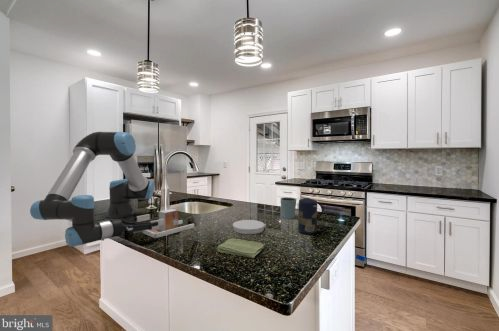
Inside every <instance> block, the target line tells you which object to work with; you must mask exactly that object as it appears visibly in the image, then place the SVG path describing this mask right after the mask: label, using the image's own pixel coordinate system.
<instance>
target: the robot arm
mask: <svg viewBox="0 0 499 331" xmlns="http://www.w3.org/2000/svg"><path fill="white" fill-rule="evenodd" d="M136 149H137V145H136V140H135V138H134V136H133V135H132V134H131V133H129V132H123V131H96V132H92V133H89V134H87V135H86V136H84V137H83V138H82V139H81V140H79V141H78V142H77V143H76V145H75V146H74V148H73V150H72V155H71V157H70V158H69V161H68V162H67V164H66V165H65V166H64V168H63V170H62V171H61V173H60V175H59V176H58V177H57V179H56V181H55V182H54V184H53V185H52V187H51V188H50V190H49V191H48V193H47V195H46V196H45V197H44V199H41V200H36V201H34V202H33V203H32V204H31V205H30V209H29V213H30V216H31V217H32V219H35V220H41V221H42V220H43V221H49V220H61V221H62V220H68V221H69V220H71V222H72V223H71V226H70V227H67V228H66V229H65V232H64V238H65V243H66V245H67V246H68V247H71V248H72V247H76V246H83V245H86V244H90V243H95V242H98V241H104V240H107V239H110V238H116V237H120V236H122V234H123V231H125V232H127V233H132V232H139V231H140V232H141V231H143V230H151V229H152V227H156V226H160V225H164V219H160V220H159V219H157V220H156V219H155V220H151V214H149V213H148V214H143V215H136V214H134V209H133V207H132V206H133V205H132V203H131V200H150V199H152V198H153V196H154V192H155V183H154V181H152V180H149V179H148V178H147V176H144V175H143V173H142V171H141V169H140V167H139V165H138V163H137V160H136V159H135V156H134V154H135V153H136ZM100 155H101V156H110V159H111V160H112V161H114V162H117V164H118V166H119V167H120V169H121V171H122V172H123V174H124V176H125V178H122V179H116V180H112V181H110V182H109V186H108V187H109V188H108V189H109V206H108V208H107V213H106V218H109V219H110V220H103V221H98V222H95V207H96V206H95V197H94V196H93V195H90V194H81V195H75V196H72V195H73V193H74V191H75V189H76V188H77V187H78V184H79V183H80V181H81V179H82V177H83V175H84V173H85V172H86V170H87V168H88V167H89V165H90V163H91V162H92V161H94V160H95V158H96V157H97V156H100ZM70 198H71V200H70ZM149 220H151V221H149ZM143 221H144V222H143ZM145 221H149V222H145Z"/></svg>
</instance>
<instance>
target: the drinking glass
mask: <svg viewBox="0 0 499 331" xmlns="http://www.w3.org/2000/svg"><path fill="white" fill-rule="evenodd" d="M296 207H297V198H294V197H285V196H284V197H280V217H281V219H284V220H293V219H295V217H296Z"/></svg>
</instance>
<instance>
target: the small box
mask: <svg viewBox="0 0 499 331" xmlns="http://www.w3.org/2000/svg"><path fill="white" fill-rule="evenodd" d="M160 219H164V225H160V226H159V230H158V231H159V232H162V231H166V230H170V229H174V228H178V227H179V225H178V221H179V210H178V209H174V208H170V209H165V210H160V211H158V220H160Z"/></svg>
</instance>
